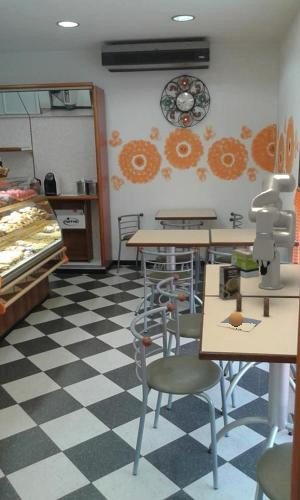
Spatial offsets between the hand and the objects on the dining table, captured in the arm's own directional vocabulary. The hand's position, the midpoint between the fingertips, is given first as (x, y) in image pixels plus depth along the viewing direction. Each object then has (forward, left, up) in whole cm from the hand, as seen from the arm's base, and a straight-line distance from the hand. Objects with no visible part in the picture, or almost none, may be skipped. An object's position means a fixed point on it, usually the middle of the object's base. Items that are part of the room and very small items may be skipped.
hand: (263, 274), depth 199 cm
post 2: (+13, +6, -15) cm, 21 cm away
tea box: (-48, -29, -15) cm, 58 cm away
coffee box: (-3, -18, -15) cm, 24 cm away
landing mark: (+27, 0, -15) cm, 31 cm away
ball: (+31, 0, -12) cm, 33 cm away
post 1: (+13, -6, -15) cm, 21 cm away
